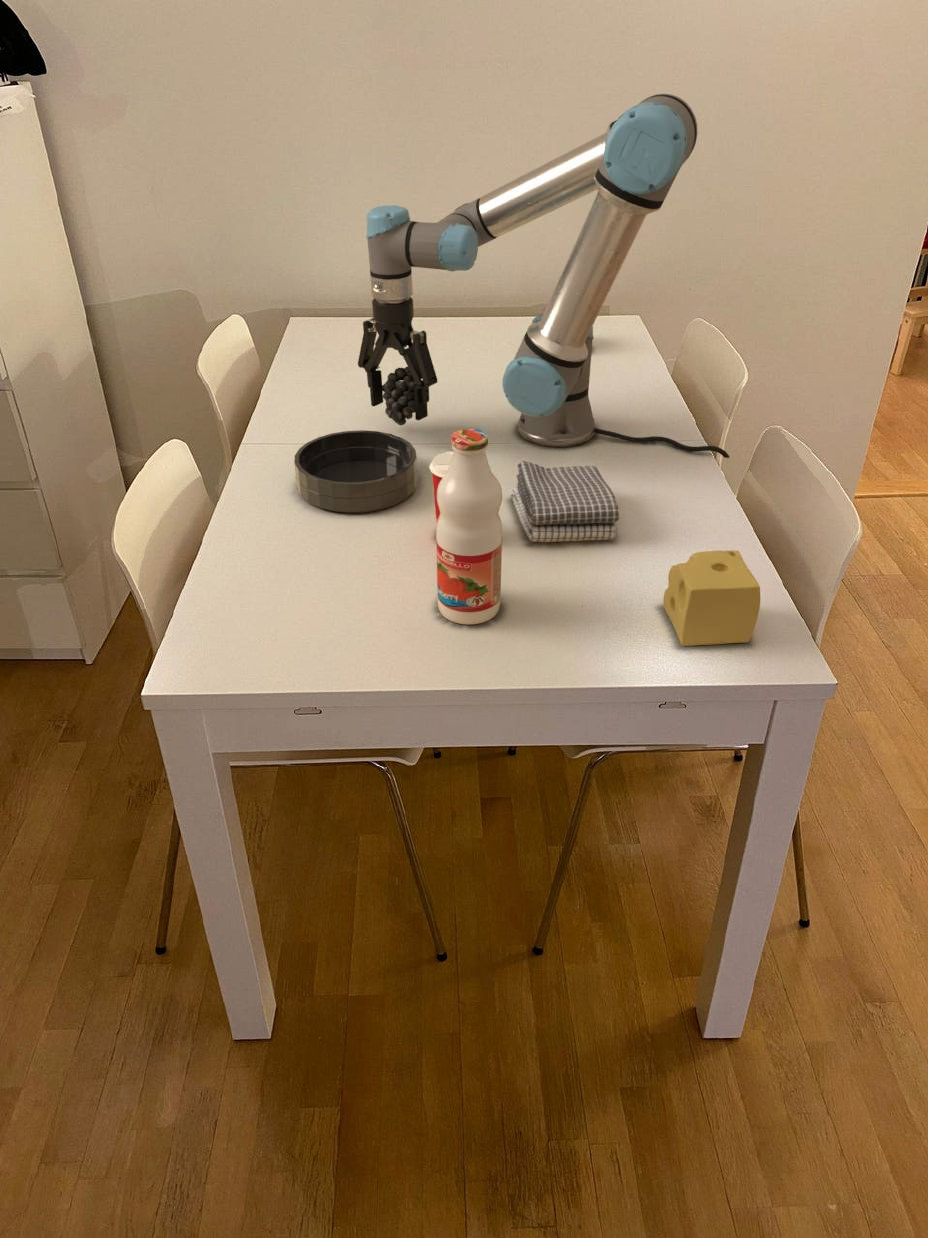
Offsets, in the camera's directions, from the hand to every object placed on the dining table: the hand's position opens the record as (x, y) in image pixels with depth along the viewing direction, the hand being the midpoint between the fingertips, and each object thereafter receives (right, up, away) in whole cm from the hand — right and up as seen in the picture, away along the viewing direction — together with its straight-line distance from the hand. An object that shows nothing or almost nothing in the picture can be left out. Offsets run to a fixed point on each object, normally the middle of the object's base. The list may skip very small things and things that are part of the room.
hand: (399, 410), depth 194 cm
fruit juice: (+13, -39, -45) cm, 61 cm away
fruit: (0, -1, 0) cm, 1 cm away
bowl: (-7, -16, -13) cm, 22 cm away
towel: (+30, -24, -23) cm, 44 cm away
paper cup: (+11, -27, -28) cm, 40 cm away
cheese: (+48, -42, -49) cm, 80 cm away
